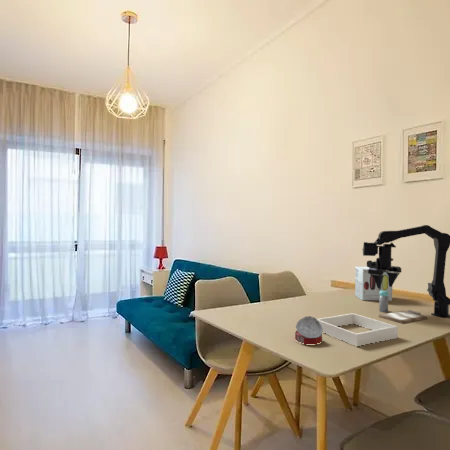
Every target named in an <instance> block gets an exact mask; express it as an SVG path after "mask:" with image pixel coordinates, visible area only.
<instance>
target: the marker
mask: <svg viewBox="0 0 450 450" xmlns="http://www.w3.org/2000/svg"><path fill="white" fill-rule="evenodd" d="M378 303H379V308H378V309H379V311H378V312H381V313H389V301H388V291H380V294H379V302H378Z"/></svg>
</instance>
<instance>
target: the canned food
mask: <svg viewBox="0 0 450 450" xmlns="http://www.w3.org/2000/svg"><path fill="white" fill-rule="evenodd" d="M317 319H318V318H316V317H314V316H310V315H309V316H304V317H302V318H300V319H299V320H298V321H297V322H296V325H295V328H296V330H295V333H294V335H295V337H294V339H296V340H297V341H298V342H301V343H304V344H317V343H320V342H321V341H322V342H323V333H322V332H323V329H322V326H321V324H320V323H319V321H318V320H317Z"/></svg>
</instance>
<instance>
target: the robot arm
mask: <svg viewBox="0 0 450 450" xmlns="http://www.w3.org/2000/svg"><path fill="white" fill-rule="evenodd" d="M423 234H425V235H426V236H428V237H429V238H430V239H432V240H433V246H434V250H435V253H434V255H435V256H434V266H433V274H432V275H433V276H432V281H431V282H428V283H427V290H426V291H427V292H428V295H429V296H430V297H431V298H432V300H433V301H434V303H433V305H434V307H433V312H432V313H431V315H433V316H436V317H440V318H443V319H444V318H449V317H450V309H449V308H450V298H449V297H448V296H447V291H446V286H445V281H444V279H445V272H446V259H447V253H448V250H449V248H450V234H449V233H445V232H441V231H439V229H436V228H434V227H431V226H430V225H427V224H423V225H420V226H415V227H410V228H405V229H399V230H382V231H380V232H379V233H378V235H377V236H378V237H377V238H376V239H375V241H374V242H367V241H366V242H365V241H364V242H363V247H362V256H365V257H367V256H368V257H370V256H371V257H376V255H378V257H376V259H375V260H374V261H372V259H371V260H367V261H366V267H369V269H368V274H370V275H372V276H373V277H374V279H375V282H376V285H377V288H379V289H380V287H381V284H382V280H383V276H384V275H383V273H384V272H386V273H387V275H388V278H389V287H392V288H393V285H394V283H395V281H396V280H397V278H398V277H399V275H401V273H402V267H401V266H396V265H392V261H394V258H392V248H396V247H397V245H395V244H394V242H395V241H398V240H400V239H402V238H407V237H413V236H418V235H423Z"/></svg>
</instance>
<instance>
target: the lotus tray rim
mask: <svg viewBox="0 0 450 450" xmlns="http://www.w3.org/2000/svg"><path fill="white" fill-rule="evenodd" d="M316 319H317V320H318V321H319V323H320V324H321V326H322V329H323V332H324V333H326V334H328V335H331V336H333V337H336V338H338V339H340V340H343V341H345V342H348V343H350V344H353V345H355V346H360V347H362V346H361V345H364V346H366V345H365V344H369V345H371V344H370V343H373V344H376V343H375V342H377V343H380V342H379V341H382V342H385V340H386V341H390V339H391V340H394V339H398V338H399V337H398V335H399V334H398V332H399V330H398V325H394V324H390V323H387V322H384V321H381V320H378V319H375V318H372V317H371V318H370V317H368V316H364V315H360V314H359V313H358V314H357V313H354V312H351V313H345V314H339V315H334V316H328V317H321V318H316ZM348 324H351V325H354V324H356V325H355V326H357V325H359V327H360V326H362V327H361V328H363V327H365V328H364V329H366V328H369V329H372V330H369V329H368V330H369V331H366V330H365V331H361V332H358V333H356V332H354V331H351V330H348V329H346V328H343V326H342V325H346V326H349V325H348ZM337 326H340V327H337ZM328 335H327V336H328ZM333 337H332V338H333ZM338 339H337V340H338ZM340 340H339V341H340ZM343 341H342V342H343ZM345 342H344V343H345ZM348 343H347V344H348ZM350 344H349V345H350ZM353 345H352V346H353ZM355 346H354V347H355Z"/></svg>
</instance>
